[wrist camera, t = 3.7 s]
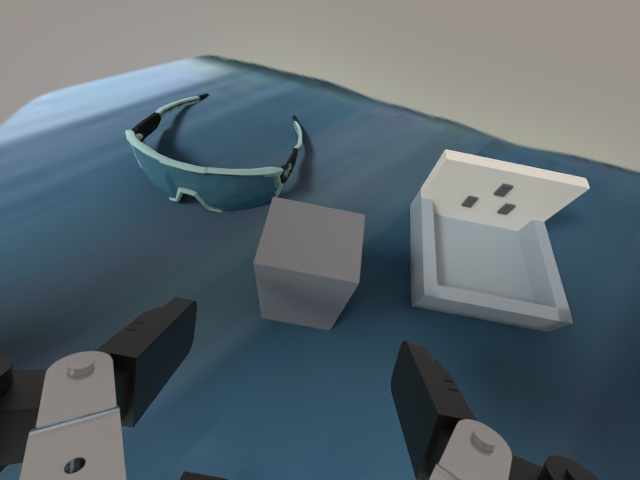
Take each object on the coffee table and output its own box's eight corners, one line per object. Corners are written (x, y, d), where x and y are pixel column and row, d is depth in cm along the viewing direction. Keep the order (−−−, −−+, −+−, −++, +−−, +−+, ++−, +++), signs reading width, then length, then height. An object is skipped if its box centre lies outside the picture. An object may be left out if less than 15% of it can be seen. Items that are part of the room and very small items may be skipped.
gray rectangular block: (261, 317, 22) (253, 262, 14) (274, 268, 24) (273, 196, 16) (329, 330, 22) (359, 283, 14) (336, 280, 24) (365, 214, 16)
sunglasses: (111, 193, 26) (84, 143, 22) (192, 109, 35) (184, 63, 31) (272, 235, 25) (274, 191, 22) (310, 139, 35) (316, 96, 31)
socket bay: (410, 306, 23) (456, 268, 17) (410, 205, 29) (445, 149, 23) (546, 332, 24) (638, 303, 18) (521, 227, 29) (585, 178, 23)
